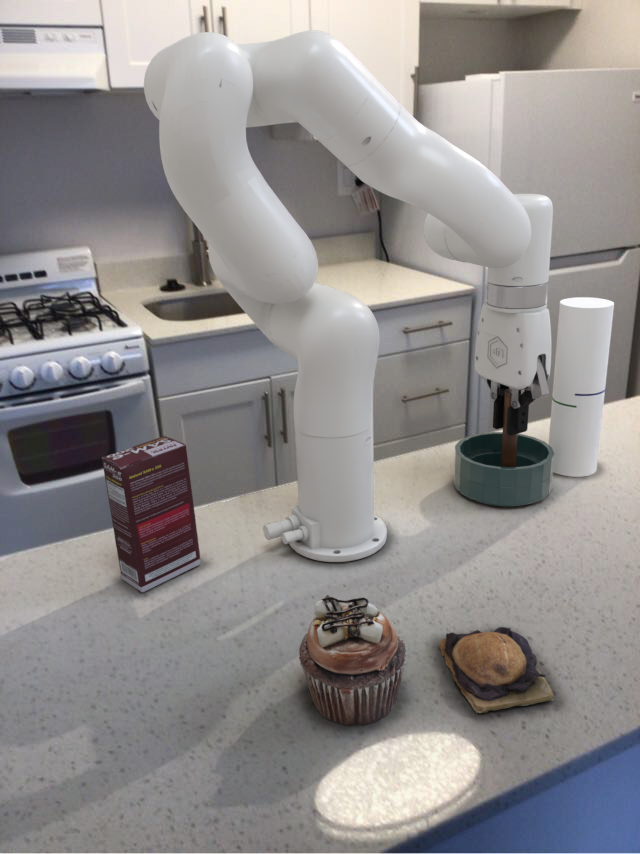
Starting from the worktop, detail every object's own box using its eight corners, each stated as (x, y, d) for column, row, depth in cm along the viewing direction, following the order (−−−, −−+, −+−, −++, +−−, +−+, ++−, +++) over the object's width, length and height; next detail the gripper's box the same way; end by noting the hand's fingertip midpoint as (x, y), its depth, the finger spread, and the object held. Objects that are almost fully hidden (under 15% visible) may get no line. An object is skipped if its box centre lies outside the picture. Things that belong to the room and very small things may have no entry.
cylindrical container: (599, 478, 110) (618, 308, 101) (548, 475, 111) (562, 307, 102) (593, 458, 116) (610, 297, 107) (545, 456, 118) (557, 297, 109)
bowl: (496, 518, 100) (498, 477, 98) (435, 482, 111) (436, 444, 109) (571, 494, 105) (574, 455, 103) (506, 461, 117) (508, 425, 114)
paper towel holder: (506, 489, 103) (510, 398, 98) (484, 478, 107) (488, 389, 102) (530, 482, 105) (536, 392, 100) (508, 471, 109) (513, 383, 104)
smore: (560, 704, 67) (564, 670, 66) (470, 717, 66) (471, 683, 65) (512, 632, 77) (514, 601, 76) (433, 642, 76) (434, 611, 75)
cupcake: (421, 722, 66) (423, 626, 62) (312, 742, 64) (307, 645, 60) (389, 653, 75) (388, 566, 71) (292, 670, 73) (287, 581, 69)
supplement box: (179, 551, 95) (165, 433, 89) (202, 565, 91) (189, 443, 86) (118, 579, 89) (99, 455, 83) (140, 595, 86) (122, 467, 80)
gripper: (454, 290, 101) (451, 418, 108) (539, 310, 88) (530, 455, 95) (497, 283, 105) (492, 408, 111) (586, 301, 91) (574, 442, 98)
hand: (509, 428), depth 103 cm, fingers closed on paper towel holder, 2 cm apart
